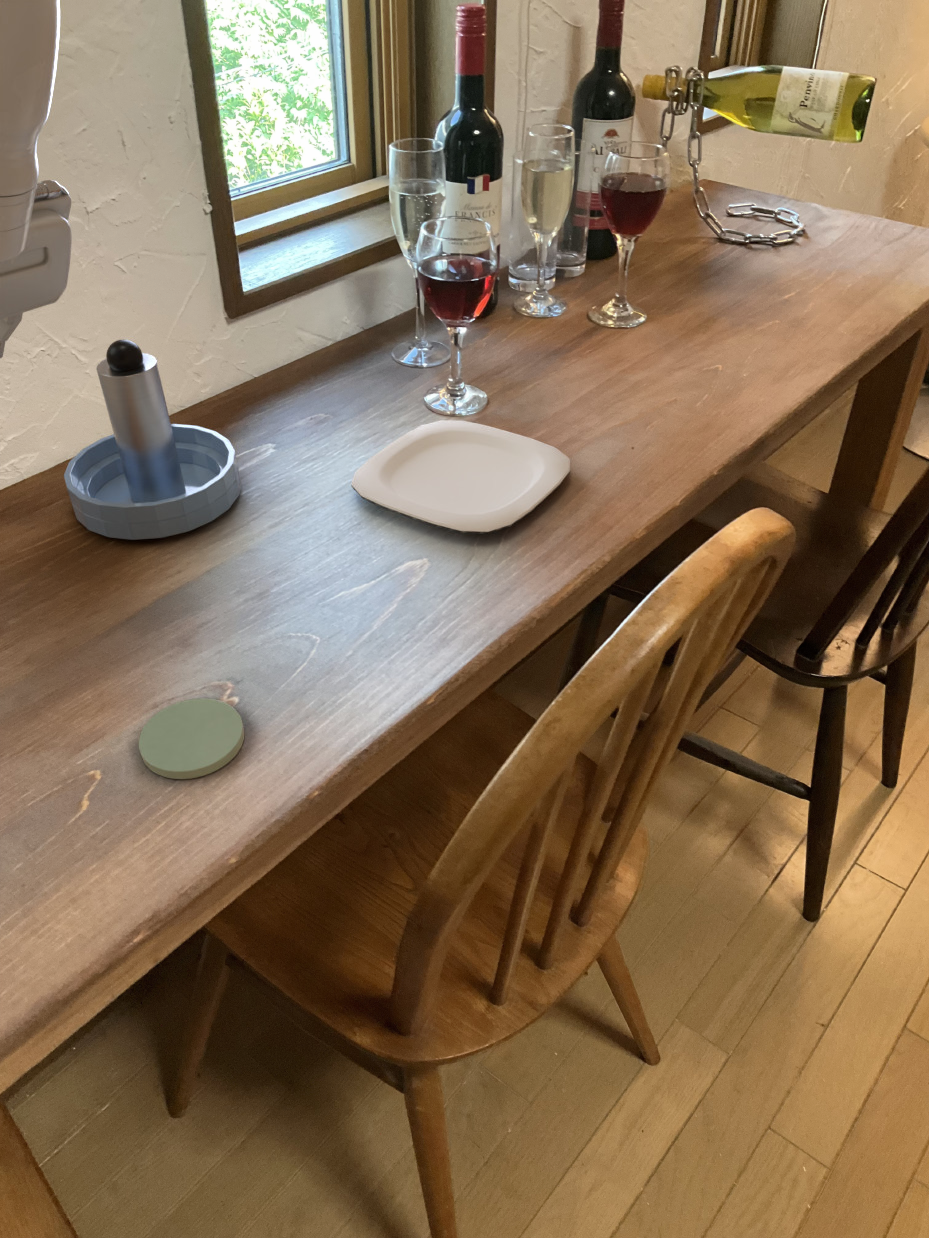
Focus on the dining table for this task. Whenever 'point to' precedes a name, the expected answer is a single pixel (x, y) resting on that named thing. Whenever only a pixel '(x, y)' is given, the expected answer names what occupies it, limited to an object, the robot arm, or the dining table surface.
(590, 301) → the dining table surface
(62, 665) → the dining table surface
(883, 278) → the dining table surface
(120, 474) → the bowl
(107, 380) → the pepper mill
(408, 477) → the plate
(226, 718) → the coaster
